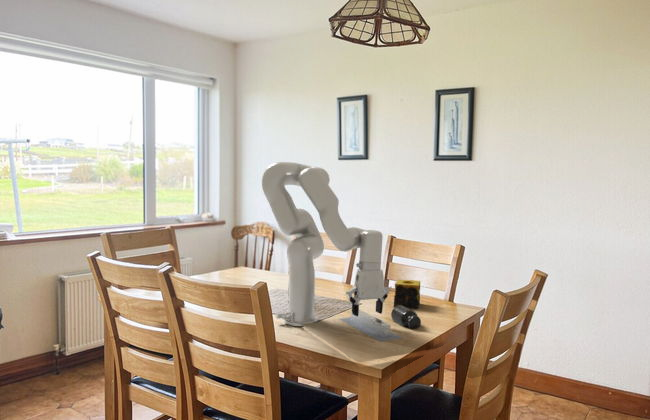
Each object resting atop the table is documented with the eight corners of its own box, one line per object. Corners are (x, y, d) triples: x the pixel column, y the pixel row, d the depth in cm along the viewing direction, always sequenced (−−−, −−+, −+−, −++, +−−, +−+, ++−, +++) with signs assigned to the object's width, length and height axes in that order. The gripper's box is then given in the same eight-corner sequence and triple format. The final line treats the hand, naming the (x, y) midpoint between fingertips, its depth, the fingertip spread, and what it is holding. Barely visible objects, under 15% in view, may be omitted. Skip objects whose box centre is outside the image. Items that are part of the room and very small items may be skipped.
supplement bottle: (410, 312, 195) (427, 322, 184) (397, 326, 194) (414, 336, 183) (399, 300, 193) (416, 309, 182) (387, 313, 192) (403, 323, 181)
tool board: (380, 345, 169) (380, 341, 169) (338, 322, 193) (338, 318, 193) (403, 341, 173) (403, 337, 173) (359, 319, 198) (359, 316, 197)
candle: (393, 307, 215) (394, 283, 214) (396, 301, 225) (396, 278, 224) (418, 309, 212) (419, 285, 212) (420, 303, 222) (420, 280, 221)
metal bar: (383, 337, 173) (384, 325, 173) (350, 319, 192) (350, 309, 192) (390, 336, 174) (390, 324, 174) (356, 319, 193) (356, 308, 193)
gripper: (353, 269, 174) (351, 319, 176) (396, 266, 182) (393, 314, 184) (343, 264, 181) (340, 313, 182) (384, 262, 189) (381, 308, 190)
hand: (367, 313), depth 183 cm, fingers open, 9 cm apart
